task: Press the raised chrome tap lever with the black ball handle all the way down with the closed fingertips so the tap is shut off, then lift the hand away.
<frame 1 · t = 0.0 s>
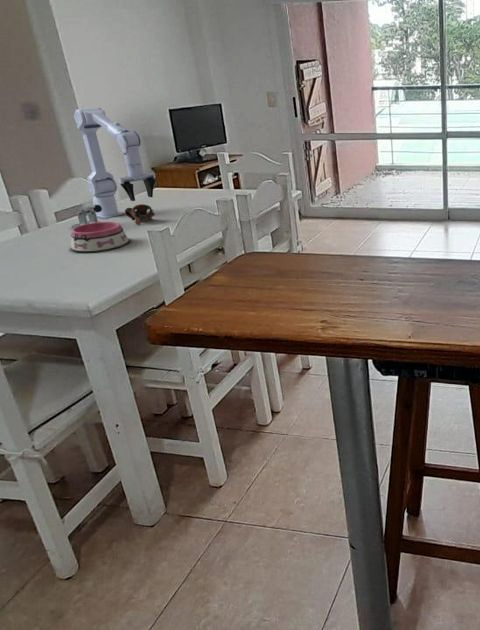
hand: (141, 198, 229), 10 cm above the table, tool pointing down, fingers open, 7 cm apart
dog bowl: (101, 245, 205), on the table
tap bracket: (90, 227, 230), on the table
tap lever: (91, 210, 224), point 7 cm above the table, hinge at 15.0°
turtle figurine: (141, 222, 235), on the table
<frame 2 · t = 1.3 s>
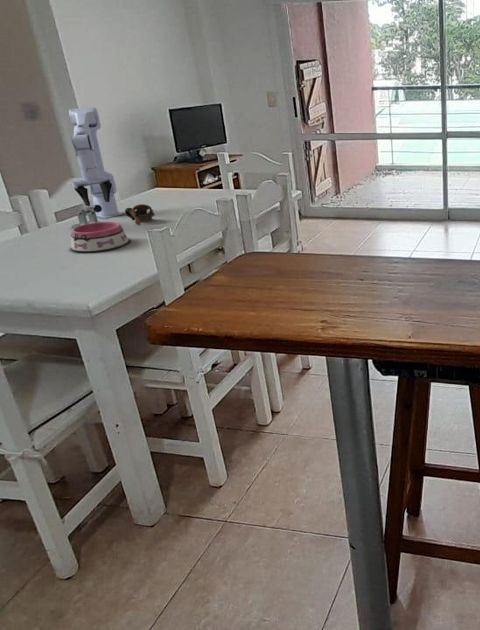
hand: (97, 203, 221), 10 cm above the table, tool pointing down, fingers open, 7 cm apart
nothing on the table moved.
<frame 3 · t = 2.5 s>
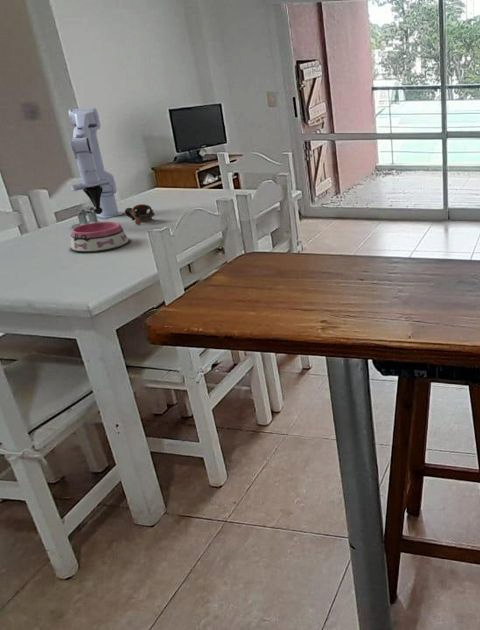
hand: (97, 206, 221), 9 cm above the table, tool pointing down, fingers closed
tap lever: (92, 211, 225), point 7 cm above the table, hinge at 11.0°
everything else where it was.
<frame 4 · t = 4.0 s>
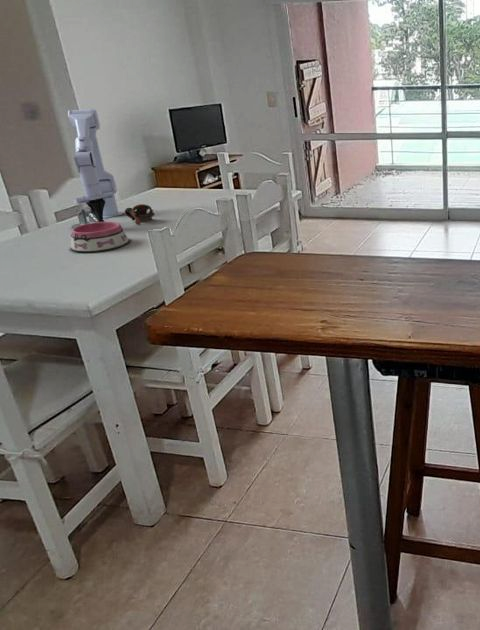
hand: (99, 219, 223), 4 cm above the table, tool pointing down, fingers closed, pressing on tap lever
tap lever: (93, 217, 226), point 4 cm above the table, hinge at -17.8°, touching gripper
everything else where it was.
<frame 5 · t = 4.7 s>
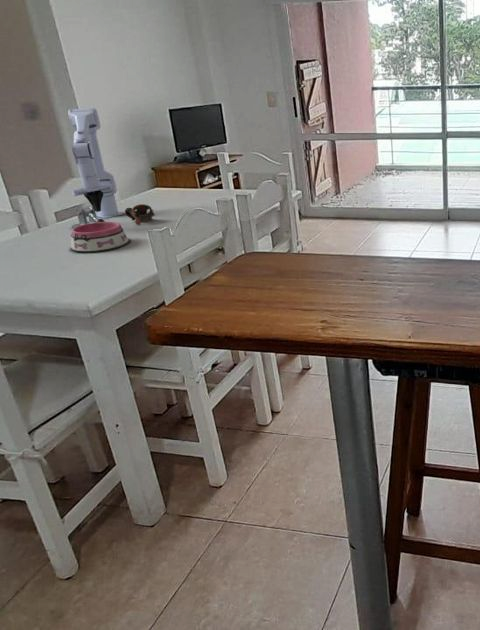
hand: (97, 211, 222), 8 cm above the table, tool pointing down, fingers closed
tap lever: (93, 217, 226), point 4 cm above the table, hinge at -17.8°
everything else where it was.
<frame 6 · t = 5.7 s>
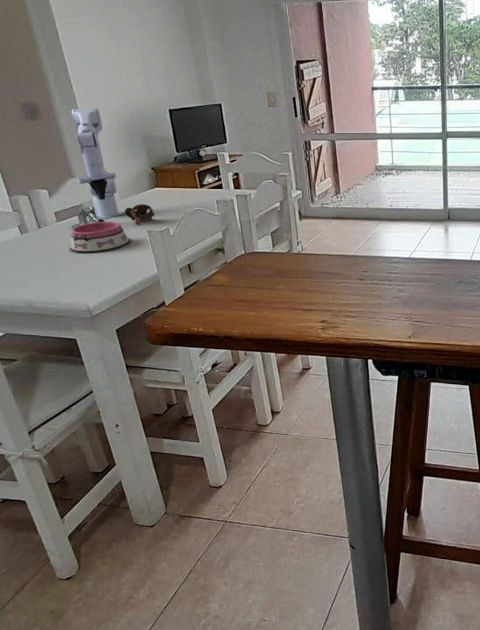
hand: (102, 199, 229), 10 cm above the table, tool pointing down, fingers closed
nothing on the table moved.
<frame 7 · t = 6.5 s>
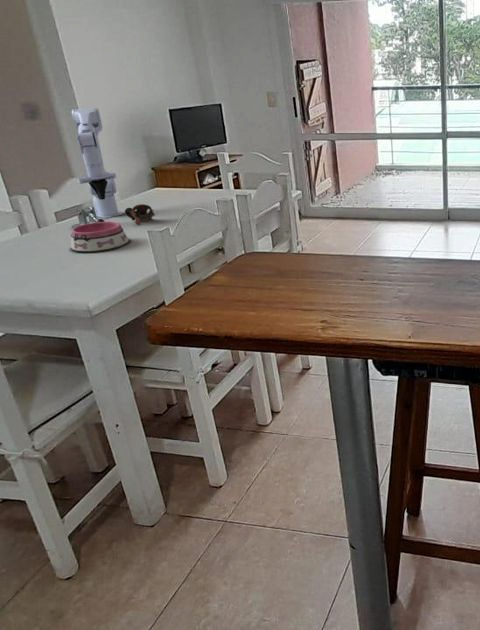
hand: (102, 199, 229), 10 cm above the table, tool pointing down, fingers closed
nothing on the table moved.
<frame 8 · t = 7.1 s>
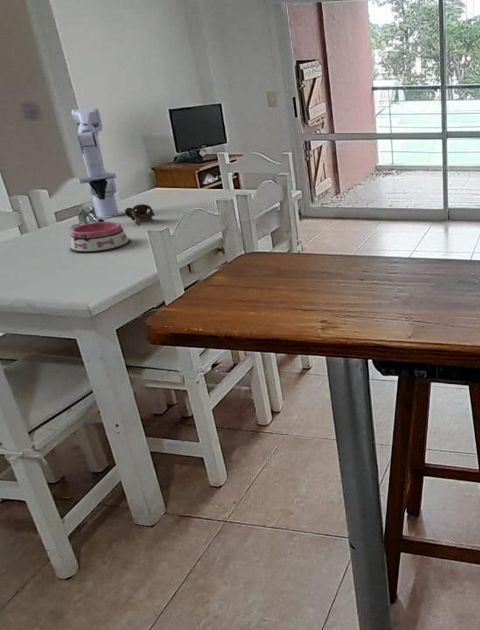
hand: (102, 199, 229), 10 cm above the table, tool pointing down, fingers closed
nothing on the table moved.
at the end: tap lever reached -18° during the clip, -18° at the end; tap lever at -18° (first picture: +15°) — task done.
